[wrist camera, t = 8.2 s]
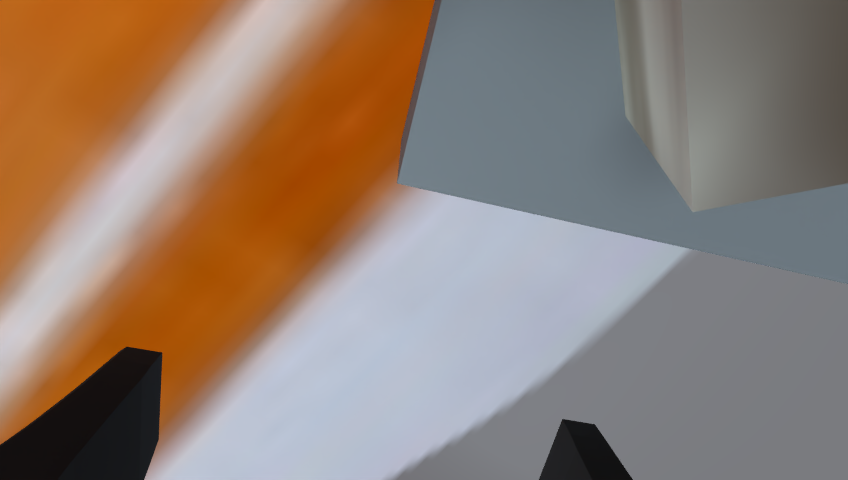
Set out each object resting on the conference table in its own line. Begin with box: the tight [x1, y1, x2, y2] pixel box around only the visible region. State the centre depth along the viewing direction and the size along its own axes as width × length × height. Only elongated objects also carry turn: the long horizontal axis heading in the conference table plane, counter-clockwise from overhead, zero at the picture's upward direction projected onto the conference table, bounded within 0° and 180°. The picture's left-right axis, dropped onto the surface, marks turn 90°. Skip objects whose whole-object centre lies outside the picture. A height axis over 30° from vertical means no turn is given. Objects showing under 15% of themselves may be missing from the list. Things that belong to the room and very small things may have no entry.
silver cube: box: [614, 0, 848, 212], centre depth 13 cm, size 5×5×5 cm
